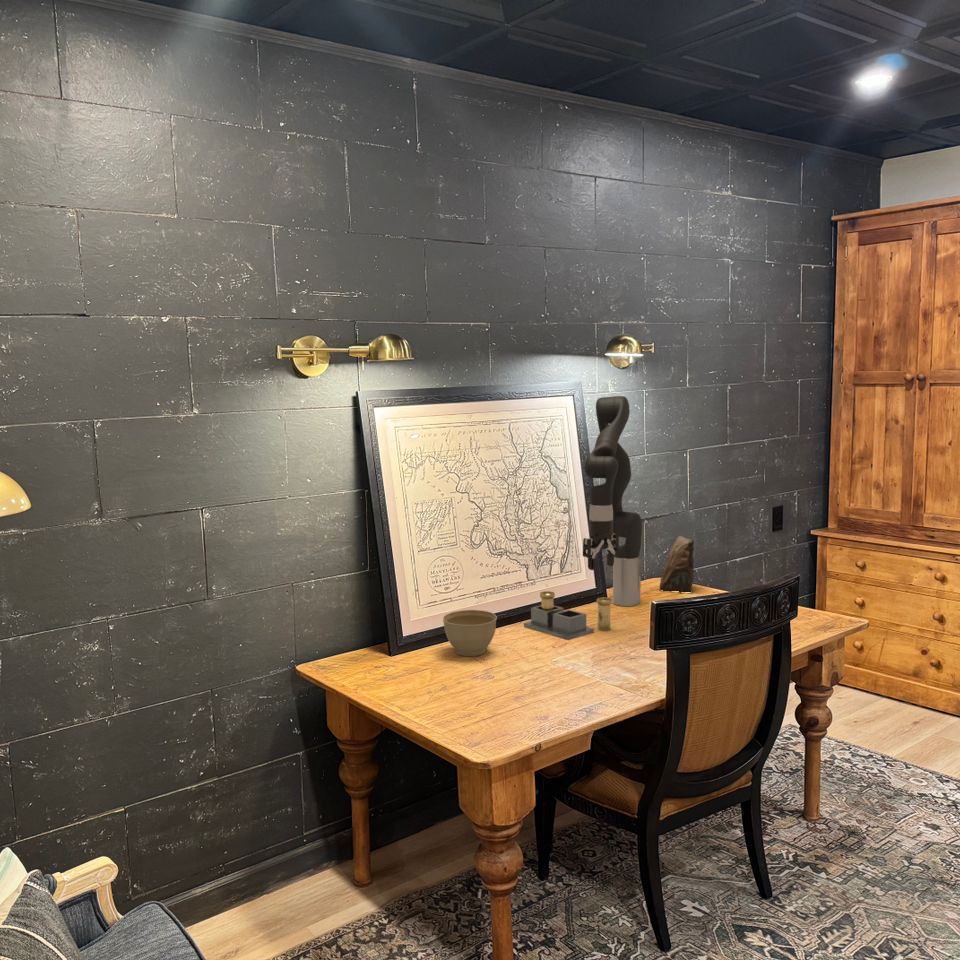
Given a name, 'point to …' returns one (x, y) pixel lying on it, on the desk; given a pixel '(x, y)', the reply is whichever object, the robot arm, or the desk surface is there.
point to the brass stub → (604, 613)
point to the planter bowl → (470, 631)
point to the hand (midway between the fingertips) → (601, 567)
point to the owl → (679, 567)
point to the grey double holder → (557, 619)
